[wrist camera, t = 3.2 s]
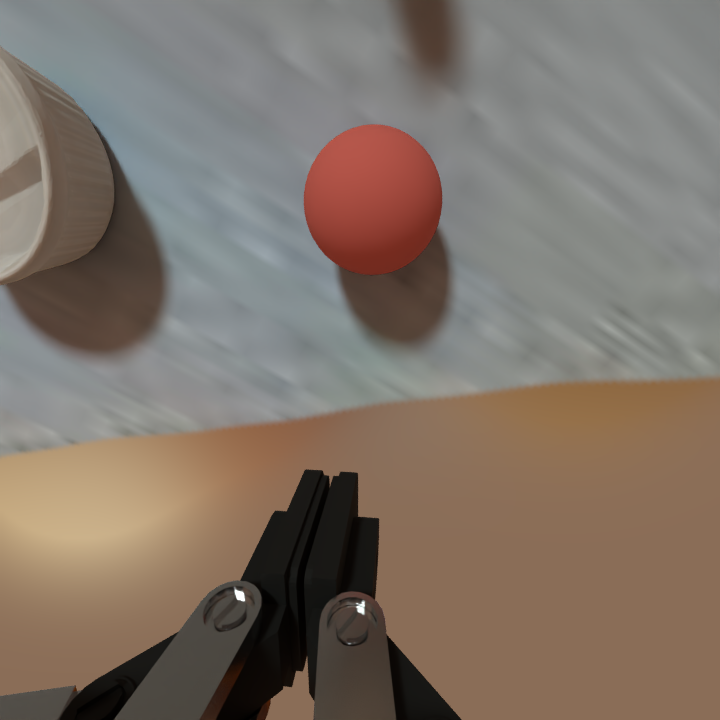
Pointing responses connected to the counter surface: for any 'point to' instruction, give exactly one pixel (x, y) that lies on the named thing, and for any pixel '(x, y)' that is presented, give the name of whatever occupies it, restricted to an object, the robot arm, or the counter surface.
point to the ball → (373, 199)
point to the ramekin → (47, 175)
